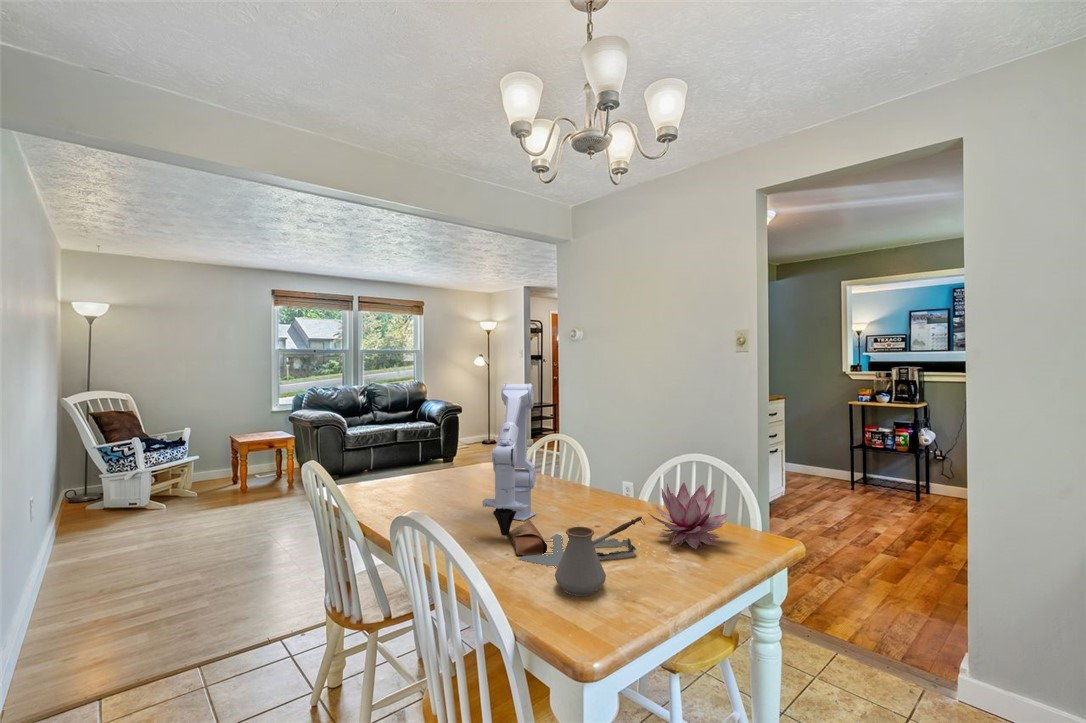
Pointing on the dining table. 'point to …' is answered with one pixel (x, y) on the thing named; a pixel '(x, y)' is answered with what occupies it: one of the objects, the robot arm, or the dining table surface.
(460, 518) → the dining table surface
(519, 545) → the sunglasses case
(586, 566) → the coffee pot
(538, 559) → the rubber mat
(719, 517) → the decorative flower
